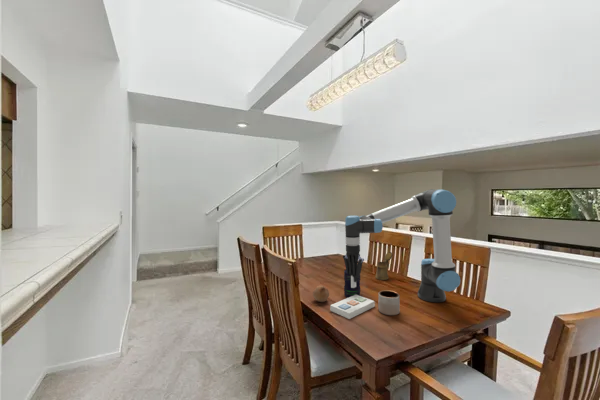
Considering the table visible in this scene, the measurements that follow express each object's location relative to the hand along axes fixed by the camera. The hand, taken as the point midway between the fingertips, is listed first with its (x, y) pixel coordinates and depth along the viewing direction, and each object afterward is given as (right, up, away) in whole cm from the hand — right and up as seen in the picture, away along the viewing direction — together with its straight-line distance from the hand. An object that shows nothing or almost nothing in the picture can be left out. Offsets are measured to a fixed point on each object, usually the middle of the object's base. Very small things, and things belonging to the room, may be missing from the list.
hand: (353, 287), depth 154 cm
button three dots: (0, -12, +1) cm, 12 cm away
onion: (-17, -12, +11) cm, 24 cm away
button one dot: (-6, -12, -4) cm, 14 cm away
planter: (+18, -12, -3) cm, 22 cm away
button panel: (0, -12, +1) cm, 12 cm away
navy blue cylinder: (+3, -11, +19) cm, 22 cm away
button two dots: (+5, -11, +5) cm, 13 cm away
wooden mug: (+32, -9, +51) cm, 61 cm away
